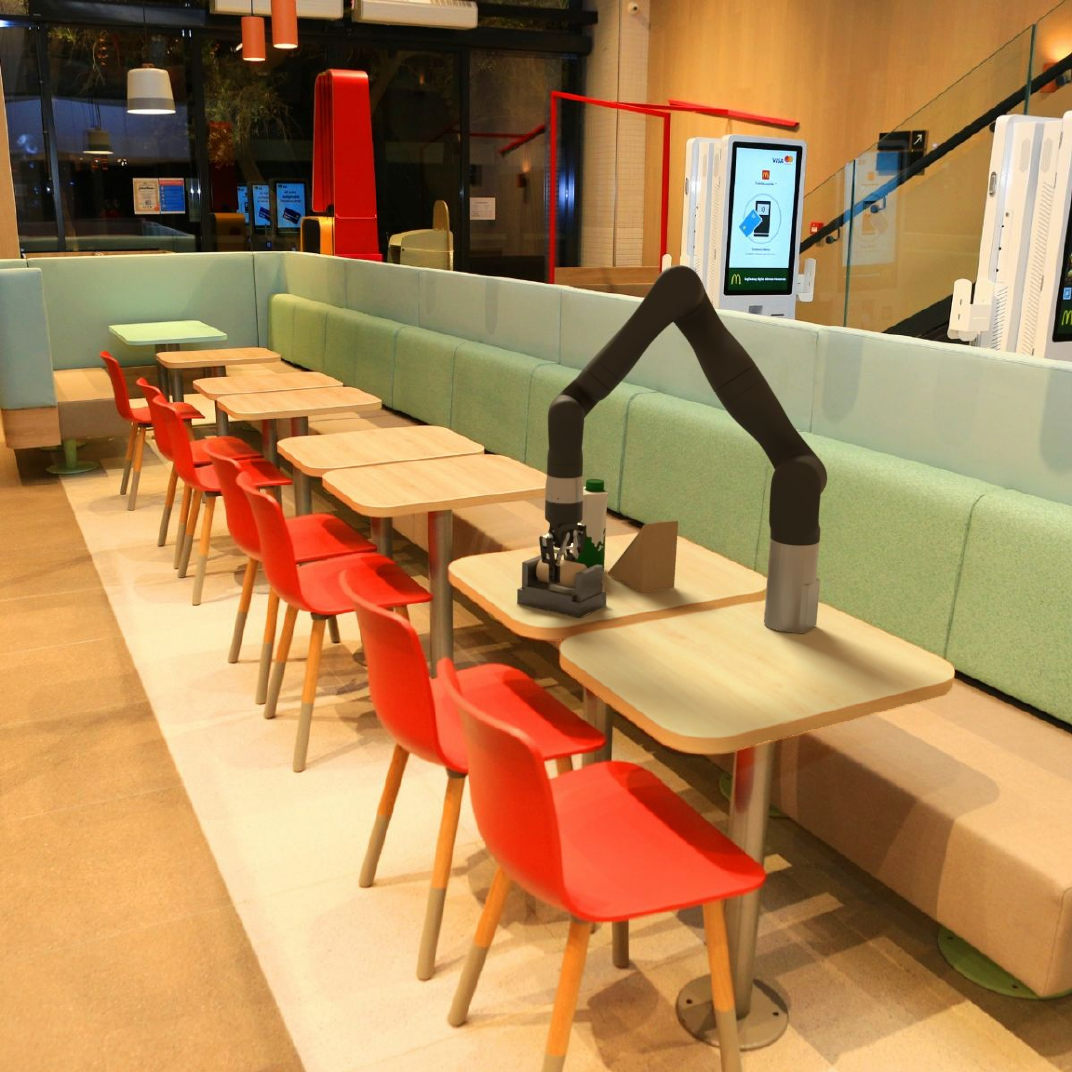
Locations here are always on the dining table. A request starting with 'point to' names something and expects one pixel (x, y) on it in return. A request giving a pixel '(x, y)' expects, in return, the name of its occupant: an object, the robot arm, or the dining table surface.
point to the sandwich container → (649, 558)
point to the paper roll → (566, 573)
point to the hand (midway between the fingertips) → (562, 578)
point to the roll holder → (562, 591)
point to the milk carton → (594, 523)
